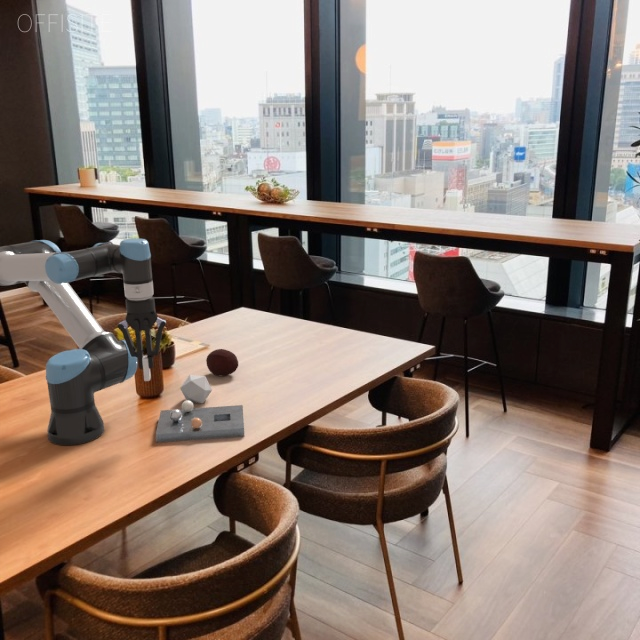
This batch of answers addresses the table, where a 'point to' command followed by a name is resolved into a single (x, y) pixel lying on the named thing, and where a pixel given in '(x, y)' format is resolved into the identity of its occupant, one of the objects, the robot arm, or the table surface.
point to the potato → (222, 362)
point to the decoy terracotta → (196, 423)
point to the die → (196, 389)
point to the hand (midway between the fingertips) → (147, 379)
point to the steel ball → (175, 415)
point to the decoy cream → (187, 406)
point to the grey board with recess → (213, 424)
